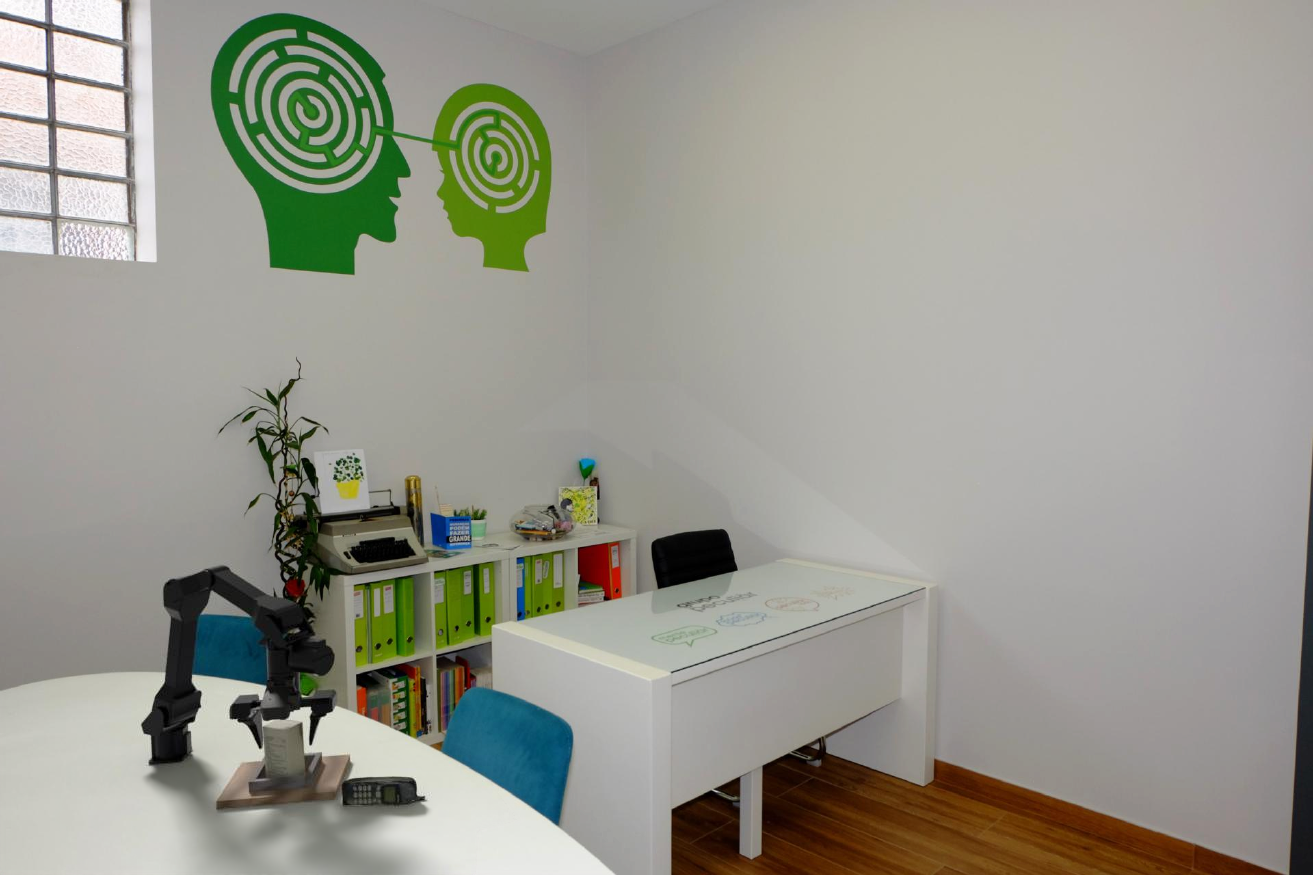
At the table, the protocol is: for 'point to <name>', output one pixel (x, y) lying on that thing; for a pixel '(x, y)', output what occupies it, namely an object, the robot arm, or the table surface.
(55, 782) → the table surface
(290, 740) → the skincare box
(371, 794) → the mobile phone
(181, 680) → the robot arm
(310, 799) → the serum stand
